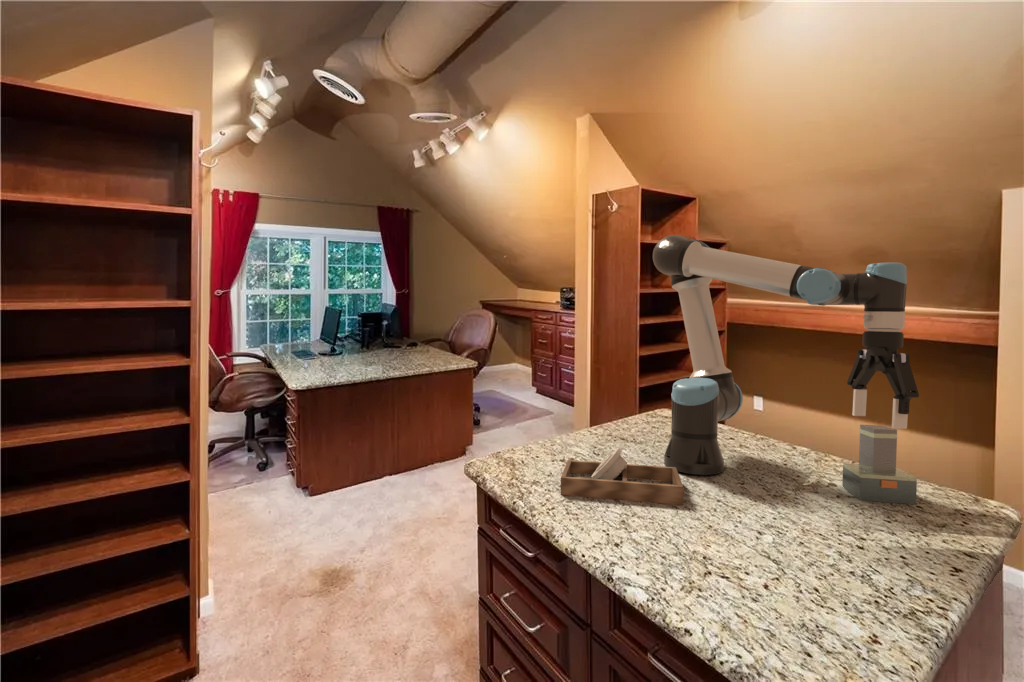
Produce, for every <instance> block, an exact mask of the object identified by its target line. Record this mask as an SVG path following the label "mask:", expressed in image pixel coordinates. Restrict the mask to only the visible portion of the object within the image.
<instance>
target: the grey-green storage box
mask: <svg viewBox="0 0 1024 682" xmlns="http://www.w3.org/2000/svg"><path fill="white" fill-rule="evenodd" d="M842 486H843V487H844V488H845V489H846V490H845V489H844V488H843V487H842V488H843V489H844V490H845V491H847V493H850V494H851V495H853V496H854V497H855V498H856V499H858V501H866V502H876V503H878V502H879V503H893V504H906V505H917V489H918V487H917V486H918V477H916V476H914V475H913V474H911V473H909V472H907V471H905V470H903V469H901V468H899V467H897V466H896V473H875V472H871V471H868V470H866V469H864V468H862V467H860V466H859V463H850V462H849V463H847V462H843V463H842Z"/></svg>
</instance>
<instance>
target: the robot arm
mask: <svg viewBox="0 0 1024 682" xmlns="http://www.w3.org/2000/svg"><path fill="white" fill-rule="evenodd" d="M652 261H653V265H654V266H655V268H656V270H657V271H658V272H660V273H662V274H663V275H665V276H669V278H670V285H671V289H673V290H674V291H676V292H677V293H678V297H679V303H680V307H681V314H682V318H683V324H684V328H685V332H686V333H685V334H686V338H687V344H688V348H689V349H688V350H689V352H690V353H689V354H690V360H691V365H692V369H693V371H692V373H691V374H690V376H689V378H681V379H677V380H676V381H675V382H673V384H672V390H671V394H670V395H671V421H670V422H671V425H670V426H671V427H670V428H671V429H670V431H671V434H670V437H669V438H670V439H669V442H668V444H667V447H666V450H665V452H664V456H663V464H664V465H663V466H664V467H676V469H677V472H678V473H679V472H681V473H684V474H690V475H691V474H692V475H701V476H702V475H716V474H717V475H718V474H721V473H722V472H724V470H725V462H724V461H725V459H724V457H723V454H722V451H721V448H720V445H719V441H718V429H719V427H718V425H719V423H718V422H721V421H727V420H729V419H731V418H732V417H733V416H735V415H736V414H737V413H738V412H739V411H740V409H741V407H742V405H743V401H744V400H743V399H744V398H743V392H742V390H741V388H740V386H739V385H738V384H737V383H735V382H734V376H733V372H732V370H731V369H730V368H728V367H726V365H725V361H724V360H725V359H724V355H723V351H722V346H721V341H720V336H719V332H718V325H717V321H716V316H715V312H714V311H715V310H714V306H713V301H712V297H711V292H710V284H711V283H712V282H713V280H715V281H716V280H717V281H722V282H726V283H730V284H732V285H733V284H735V285H739V286H742V287H747V288H752V289H756V290H760V291H764V292H768V293H773V294H777V295H781V296H786V297H791V298H794V299H799V300H803V301H806V303H807V304H808V305H813V306H822V307H823V306H845V305H846V306H847V305H848V306H849V305H852V306H853V305H856V306H863V307H864V309H863V312H864V313H863V329H865V330H866V331H865V330H864V331H863V332H862V340H861V341H862V343H861V345H862V346H863V347H864V348H867V349H857V352H856V358H855V360H854V364H853V366H852V369H851V370H850V373H849V377H848V379H847V380H846V381H847V382H846V383H847V385H848V386H851V388H852V389H853V390H852V413H851V415H852V416H854V417H866V416H867V415H866V413H867V398H868V387H867V385H868V384H869V383H870V381H871V379H872V378H873V377H874V375H875V374H876V372H878V371H879V372H881V373H882V374H884V375H885V376H886V379H887V381H888V383H889V385H890V386H891V389H892V391H893V393H894V394H895V395H894V396H893V397H892V399H893V400H892V413H891V415H892V416H891V428H893V429H897V430H898V429H899V430H901V429H903V430H907V429H908V420H909V419H908V418H909V417H908V416H909V413H910V405H911V404H910V401H911V400H912V399H914V398H916V399H917V398H919V397H920V393H919V390H918V387H917V384H916V381H915V378H914V373H913V371H912V367H911V363H910V354H909V353H906V352H904V353H903V352H898V349H902V348H903V347H904V336H905V335H904V334H905V333H903V331H902V330H904V329H905V326H906V325H905V324H906V321H905V320H906V303H907V302H906V301H907V287H908V278H907V277H908V274H907V273H908V272H907V271H908V267H907V266H906V265H905V263H902V262H891V261H890V262H878V263H877V262H875V263H869V264H868V265H867V266H866V270H864V272H858V273H837V272H834V271H833V270H831V269H828V268H821V267H812V266H808V265H807V266H806V265H801V264H796V263H790V262H785V261H781V260H775V259H771V258H764V257H759V256H756V255H755V256H754V255H750V254H749V255H748V254H744V253H737V252H734V251H729V250H723V249H717V248H713V247H710V246H709V245H707V244H706V243H705V242H703V241H701V240H699V239H696V238H689V237H687V236H683V235H680V234H671V235H667V236H665V237H663V238H662V239H660V240H659V241H658V242H657V244H656V245H655V246H654V248H653V251H652Z"/></svg>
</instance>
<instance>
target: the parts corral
mask: <svg viewBox="0 0 1024 682" xmlns="http://www.w3.org/2000/svg"><path fill="white" fill-rule="evenodd" d="M602 462H603V461H587V460H574V459H573V460H572V459H567V462H566V464H565V466H564V468H563V471H562V473H561V477H560V495H561V496H573V497H581V498H583V497H584V498H596V499H605V500H606V499H609V500H617V501H618V500H621V501H631V502H643V503H654V504H656V503H657V504H667V505H678V506H679V505H681V506H684V484H683V482H682V480H681V478H680V475H679V471H677V469H676V467H666V466H664V465H663V466H662V465H649V464H648V465H645V464H634V463H633V464H631V463H630V464H629V463H627V464H626V466H625V468H624V469H623V470H622V472H621V473H620V474H619V475H618V476H617V477H616V478H621V480H617V479H614V480H603V479H599V478H598V479H593V478H587V477H573V476H572V477H571V475H570V474H580V475H591V476H592V475H593V473H594V472H595V471H596V469H597V467H598V466H599V465H600V464H601V463H602ZM628 479H634V480H643V481H645V480H646V481H652V482H642V481H641V482H640V481H639V482H638V481H628ZM653 481H654V482H653ZM655 481H657V482H664V483H655ZM665 482H666V483H671V484H666V483H665Z"/></svg>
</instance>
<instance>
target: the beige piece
mask: <svg viewBox="0 0 1024 682" xmlns="http://www.w3.org/2000/svg"><path fill="white" fill-rule="evenodd" d="M622 452H623V450H622V448H620V447H617V448H616V449H615V450H614V451H612V452H610V454H608V455H607V457H605V458H604V459H603V460H602V461H601V462H602V463H601V464H600V465H599V466H598V467H597V469H596V471H595V472H594V473H593V475H591V476H590V477H591V479H603V480H616V478H618V477H617V476H618V475H619V474H620V473H621V472H622V470H623V469H624V468H625V466H626V464H628V461H626V460H625V459H624V458H623V457H622V455H621V454H622Z"/></svg>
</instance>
